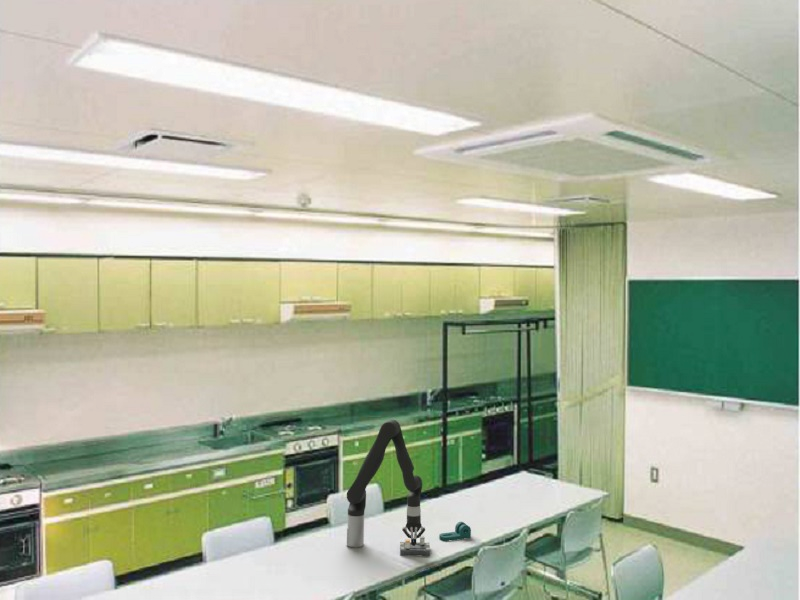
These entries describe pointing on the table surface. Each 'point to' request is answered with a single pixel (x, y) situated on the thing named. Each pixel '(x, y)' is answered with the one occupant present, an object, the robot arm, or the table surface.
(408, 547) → the block
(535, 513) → the table surface
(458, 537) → the bracket
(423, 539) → the block
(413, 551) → the panel
